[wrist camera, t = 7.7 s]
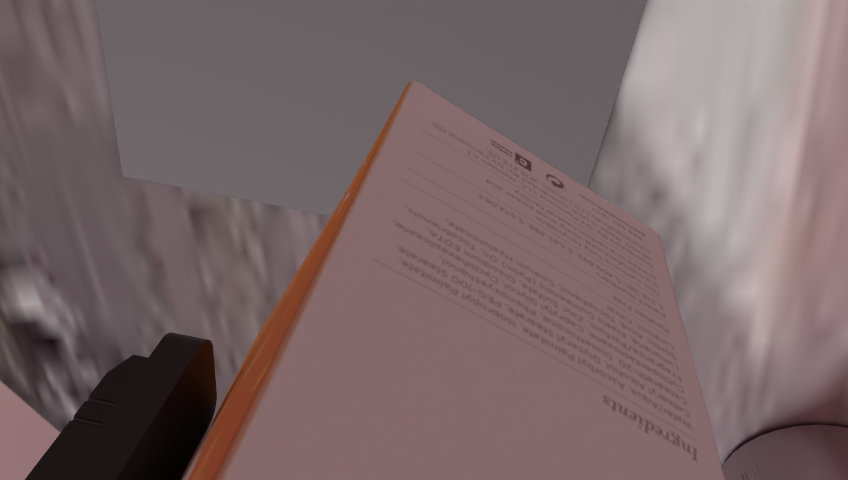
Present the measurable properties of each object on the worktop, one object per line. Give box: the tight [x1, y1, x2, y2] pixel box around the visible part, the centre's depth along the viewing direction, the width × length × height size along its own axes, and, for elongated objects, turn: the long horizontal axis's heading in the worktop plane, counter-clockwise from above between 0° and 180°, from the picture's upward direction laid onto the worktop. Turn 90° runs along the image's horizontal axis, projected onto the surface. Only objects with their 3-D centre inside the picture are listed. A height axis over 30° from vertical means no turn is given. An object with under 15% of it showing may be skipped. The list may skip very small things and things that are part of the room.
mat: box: [95, 0, 647, 216], centre depth 27 cm, size 22×16×1 cm
